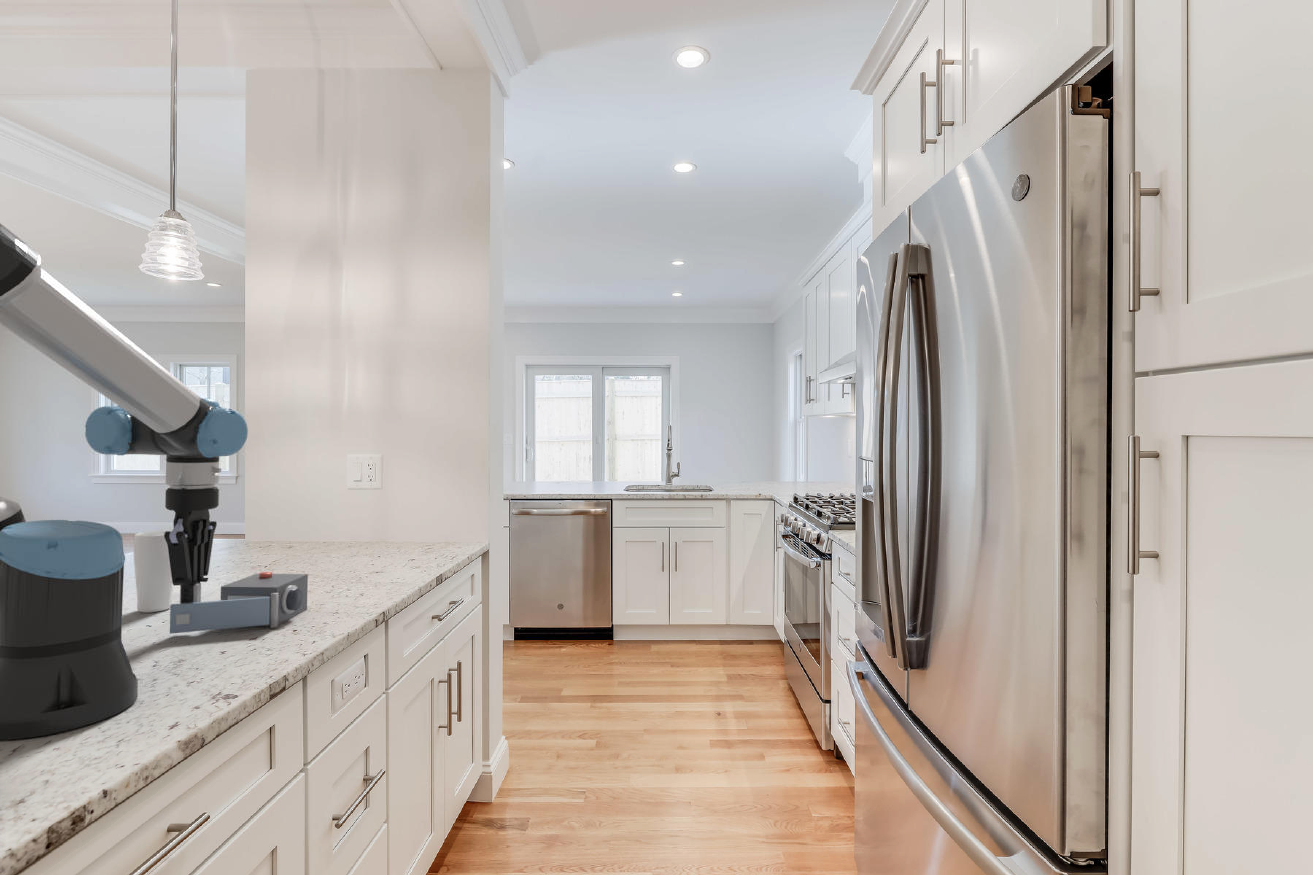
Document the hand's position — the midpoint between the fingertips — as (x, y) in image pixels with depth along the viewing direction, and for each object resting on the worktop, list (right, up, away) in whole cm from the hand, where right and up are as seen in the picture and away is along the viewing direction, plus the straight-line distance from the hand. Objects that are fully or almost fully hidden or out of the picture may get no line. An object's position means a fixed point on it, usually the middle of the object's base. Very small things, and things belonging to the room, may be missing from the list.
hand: (190, 620), depth 111 cm
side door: (+6, -2, 0) cm, 6 cm away
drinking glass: (-17, -2, +13) cm, 21 cm away
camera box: (+7, -2, +10) cm, 12 cm away
